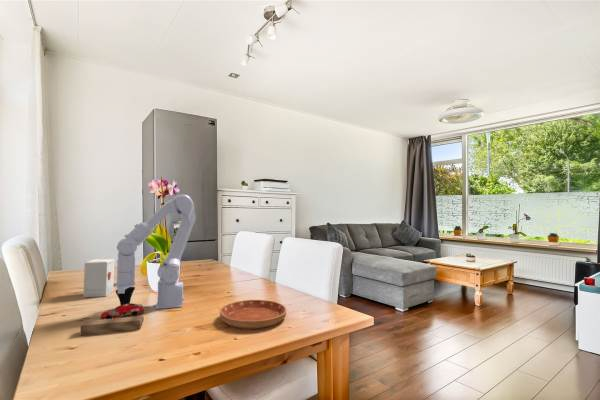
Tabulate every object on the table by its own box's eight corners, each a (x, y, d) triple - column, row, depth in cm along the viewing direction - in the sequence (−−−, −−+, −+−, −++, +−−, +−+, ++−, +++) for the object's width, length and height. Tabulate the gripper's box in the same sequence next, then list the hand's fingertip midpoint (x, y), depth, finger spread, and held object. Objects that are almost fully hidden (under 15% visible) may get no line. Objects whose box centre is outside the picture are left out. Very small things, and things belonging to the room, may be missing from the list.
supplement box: (106, 296, 132) (107, 261, 133) (82, 297, 130) (83, 262, 131) (114, 291, 141) (115, 258, 141) (92, 292, 139) (93, 258, 140)
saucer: (260, 304, 124) (260, 295, 124) (299, 320, 108) (299, 309, 108) (207, 318, 108) (207, 308, 108) (245, 339, 92) (245, 326, 92)
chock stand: (144, 320, 105) (144, 311, 105) (139, 329, 97) (140, 320, 97) (89, 325, 100) (90, 316, 100) (80, 335, 92) (80, 325, 92)
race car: (100, 322, 104) (100, 310, 104) (101, 317, 108) (101, 306, 109) (143, 315, 110) (144, 304, 110) (143, 311, 115) (143, 300, 115)
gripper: (118, 268, 119) (117, 303, 119) (108, 276, 105) (107, 316, 105) (139, 267, 121) (138, 301, 121) (131, 274, 108) (130, 314, 107)
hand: (125, 308), depth 113 cm, fingers closed
